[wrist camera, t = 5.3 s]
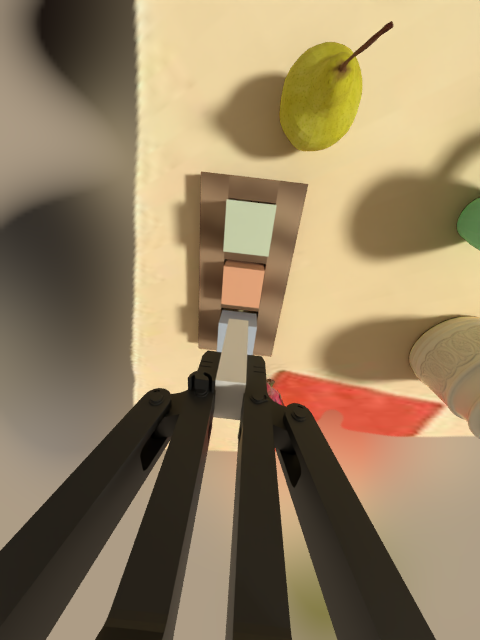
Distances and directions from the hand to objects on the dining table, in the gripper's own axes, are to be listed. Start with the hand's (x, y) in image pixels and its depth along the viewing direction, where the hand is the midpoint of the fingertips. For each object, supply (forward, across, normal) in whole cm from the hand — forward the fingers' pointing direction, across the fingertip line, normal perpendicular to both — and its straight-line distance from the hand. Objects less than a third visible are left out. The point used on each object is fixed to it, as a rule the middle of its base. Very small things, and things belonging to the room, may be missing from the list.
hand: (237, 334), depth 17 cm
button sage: (+14, 0, +7) cm, 15 cm away
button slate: (+14, 0, -7) cm, 16 cm away
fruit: (+16, +5, +18) cm, 25 cm away
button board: (+16, 0, 0) cm, 16 cm away
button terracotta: (+15, 0, 0) cm, 15 cm away
